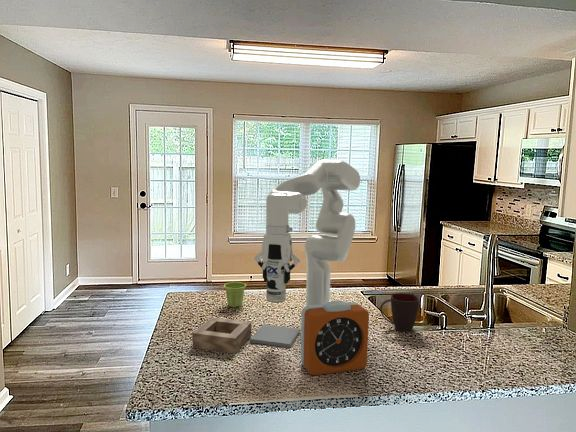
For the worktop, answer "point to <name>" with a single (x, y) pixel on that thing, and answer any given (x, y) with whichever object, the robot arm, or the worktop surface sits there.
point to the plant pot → (235, 293)
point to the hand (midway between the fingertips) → (276, 281)
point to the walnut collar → (222, 335)
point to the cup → (403, 310)
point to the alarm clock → (334, 337)
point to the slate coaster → (275, 335)
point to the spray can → (275, 275)
